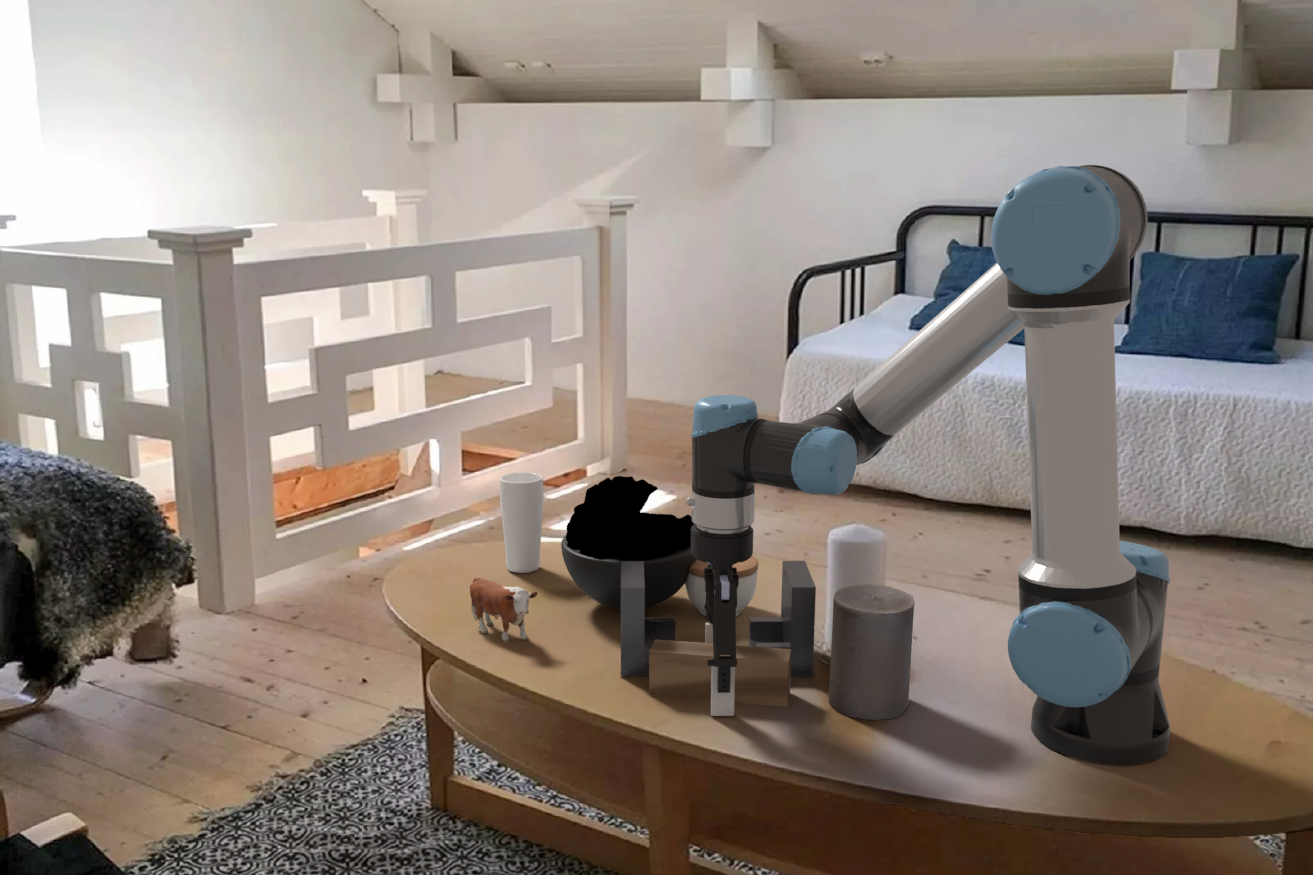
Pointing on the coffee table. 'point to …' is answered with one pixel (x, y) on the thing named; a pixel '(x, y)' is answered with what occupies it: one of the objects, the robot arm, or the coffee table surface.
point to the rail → (689, 677)
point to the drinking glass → (522, 520)
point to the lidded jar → (744, 590)
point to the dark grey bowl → (626, 543)
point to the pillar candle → (871, 651)
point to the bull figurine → (499, 605)
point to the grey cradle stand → (763, 632)
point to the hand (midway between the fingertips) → (718, 692)
